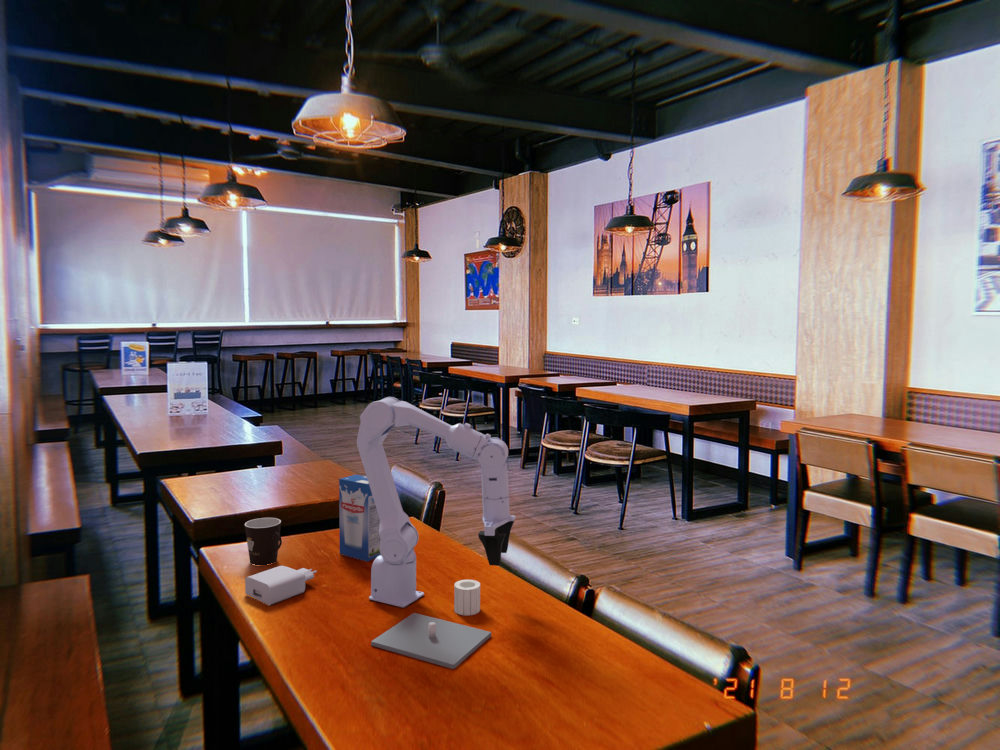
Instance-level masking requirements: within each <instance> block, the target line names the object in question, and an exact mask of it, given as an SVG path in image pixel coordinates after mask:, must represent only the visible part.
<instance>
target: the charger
mask: <svg viewBox="0 0 1000 750" xmlns="http://www.w3.org/2000/svg"><path fill="white" fill-rule="evenodd" d="M317 572H318V571H317V570H314V571H313V568H310V569H307V568H305V567H302V568H299V569H297V570H296V569H294V568H291V567H288V566H285V565H278V566H276V567H273V568H269V569H267V570H264V571H261V572H257V573H256V574H252V575H249V576H246V577H245V579H244V584H245V585H244V586H245V587H244V590H245V591H244V592H245V593H244V594H245V595H246V594H247V595H249V596H251V597H253V598H255V599H257V600H259V601H261V602H263V603H262V604H264V603H265V604H264V605H266V604H267V606H271V605H274V604H277V603H280V602H282V601H285V600H288V599H290V598H292V597H295V596H298V595H301V594H302V593H304V592H305V590H306V582H307V581H309V580H312V579H314V578H315V573H317ZM255 599H254V600H255ZM257 600H256V601H257ZM259 601H258V602H259ZM261 602H260V603H261Z"/></svg>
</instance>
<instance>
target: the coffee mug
mask: <svg viewBox="0 0 1000 750" xmlns="http://www.w3.org/2000/svg"><path fill="white" fill-rule="evenodd" d="M281 525H282V519H279V518H277V517H261V518H254V519H250V520H248V521H246V522H245V523H244V530H245V537H246V543H247V550H248V556H249V557H248V558H249V564H250V563H252V564H255V565H267V564H271V563H274V562H275V563H277V561H278V556H279V555H278V554H279V549H280V548H281V546H282V544H283V540H282V536H281ZM275 563H274V564H275ZM271 565H272V564H271ZM267 566H268V565H267Z"/></svg>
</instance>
